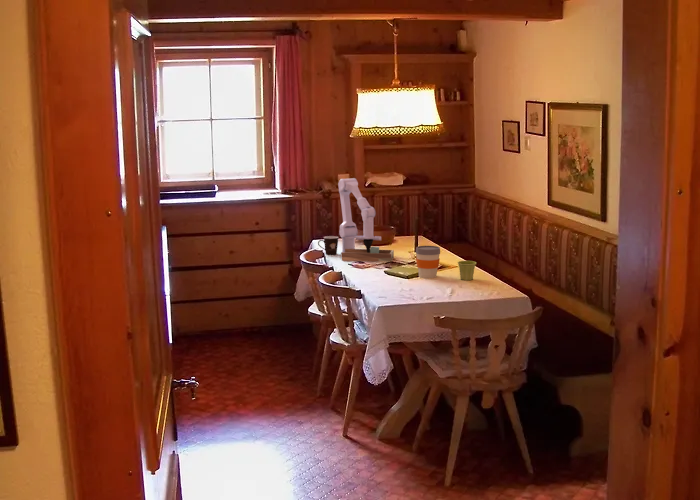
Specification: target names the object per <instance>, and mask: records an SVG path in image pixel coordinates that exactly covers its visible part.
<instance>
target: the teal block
mask: <svg viewBox="0 0 700 500" xmlns="http://www.w3.org/2000/svg"><path fill="white" fill-rule="evenodd" d="M379 250H380V246H372V245H371V248H370V253H379Z"/></svg>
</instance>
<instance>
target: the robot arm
mask: <svg viewBox="0 0 700 500" xmlns="http://www.w3.org/2000/svg"><path fill="white" fill-rule="evenodd" d="M337 185H338V193H339V197H340V204H341V205H340V206H341V214H342V223H341V224H340V225H339V231H338V232H339V233H338V235H339V237H340V238H341V239H342V241H341V242H342V244H341V246H342V247H341V248H342V251H341V252H340V255H342V252H345V249H356V243H355V242H356V240H360V241H361V240H362V242H363V243H364V246H365V249H367V253H369V252H370V248H371V246H372V244H373V243H374V241H382V236H381V235H380V236H379V235H375V236H374V218H375V217H376V215H377V212H376V209H375V208H374V207H373V206H371V205H370V203H369V201H368V200H367V198H366V197H363V194H362V193H361V191H360V188H359V187H358V186H359V182H358V180H357V178H355V177H353V178H340V180H339V181H338V184H337ZM351 193H352V194H353V196H354V197H355V199H356V200H357V201H356V203H357V204H356V205H358V208H359V209H360V211H361V213H360V214H361V217H362V221H363V228H362V229H363V230H362V231H363V235H358V233H359V232H358V228H357V224H356V223H355V222H353V219H352V218H353V217H352V209H351V199H350V194H351Z"/></svg>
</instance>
